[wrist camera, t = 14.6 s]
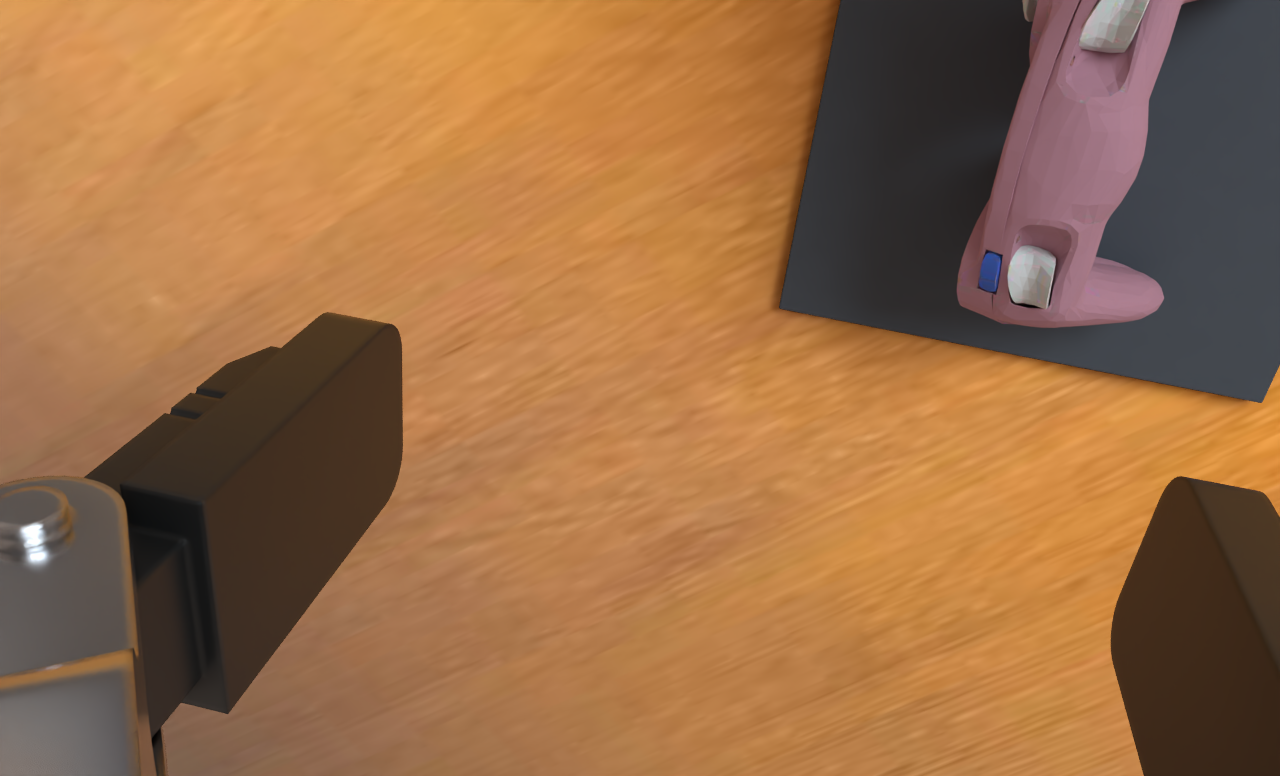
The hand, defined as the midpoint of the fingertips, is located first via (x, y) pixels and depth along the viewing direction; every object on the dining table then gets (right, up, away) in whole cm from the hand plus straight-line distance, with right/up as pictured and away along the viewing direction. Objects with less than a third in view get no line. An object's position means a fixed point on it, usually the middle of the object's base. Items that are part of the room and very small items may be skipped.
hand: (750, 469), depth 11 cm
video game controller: (+11, +8, +17) cm, 21 cm away
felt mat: (+11, +8, +17) cm, 21 cm away
